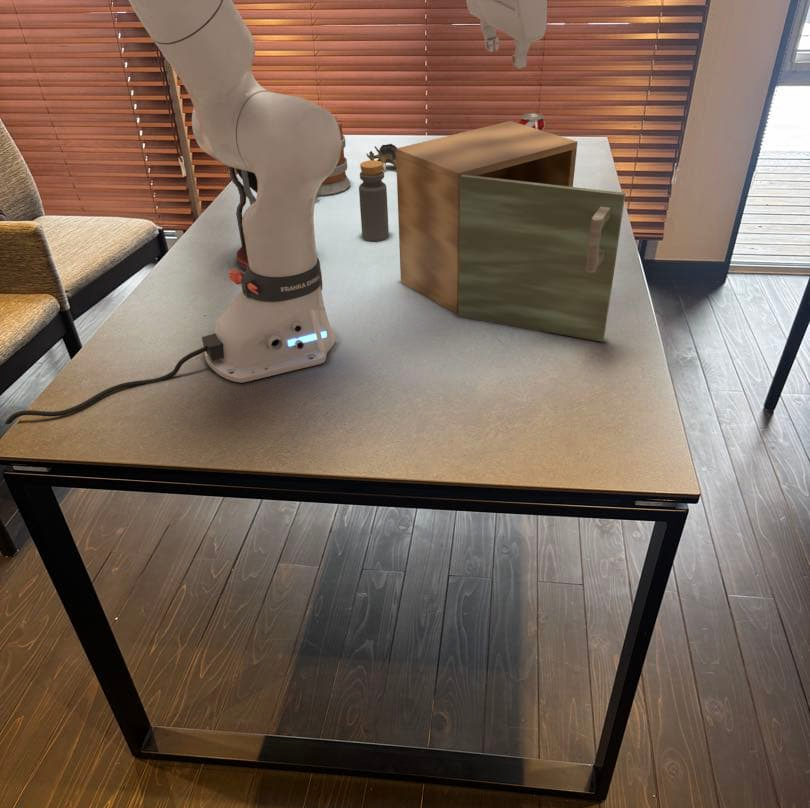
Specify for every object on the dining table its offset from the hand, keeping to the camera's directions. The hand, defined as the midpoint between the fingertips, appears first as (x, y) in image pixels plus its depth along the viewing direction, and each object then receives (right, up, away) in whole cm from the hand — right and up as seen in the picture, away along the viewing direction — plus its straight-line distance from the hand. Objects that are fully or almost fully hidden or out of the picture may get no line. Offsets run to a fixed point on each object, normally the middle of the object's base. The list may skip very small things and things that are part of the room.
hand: (505, 58), depth 127 cm
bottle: (-23, -11, +46) cm, 52 cm away
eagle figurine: (-21, +20, +81) cm, 86 cm away
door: (+4, -42, +10) cm, 43 cm away
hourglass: (-43, -19, +38) cm, 61 cm away
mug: (-37, +9, +70) cm, 80 cm away
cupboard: (-1, -27, +28) cm, 38 cm away
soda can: (+16, +19, +78) cm, 82 cm away
